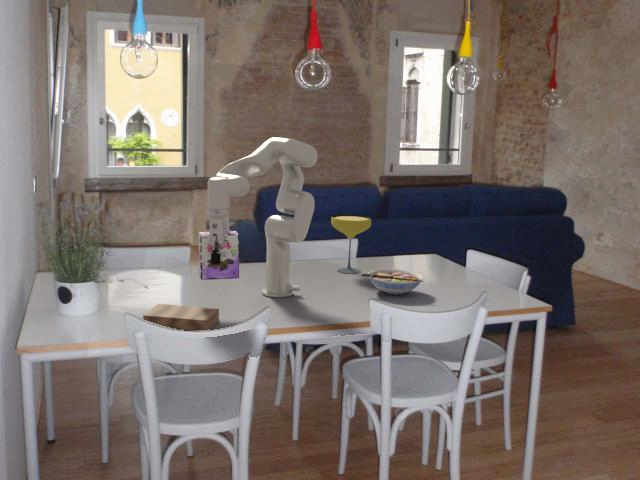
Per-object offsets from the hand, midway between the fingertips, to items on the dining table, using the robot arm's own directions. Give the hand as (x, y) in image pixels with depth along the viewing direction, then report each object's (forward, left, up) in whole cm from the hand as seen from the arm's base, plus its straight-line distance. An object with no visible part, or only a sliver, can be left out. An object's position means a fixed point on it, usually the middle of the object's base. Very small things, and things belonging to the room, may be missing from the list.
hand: (219, 261), depth 253 cm
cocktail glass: (-40, -77, -19) cm, 89 cm away
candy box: (0, 0, -6) cm, 6 cm away
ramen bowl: (-62, -45, -19) cm, 79 cm away
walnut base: (+8, +16, -19) cm, 26 cm away
